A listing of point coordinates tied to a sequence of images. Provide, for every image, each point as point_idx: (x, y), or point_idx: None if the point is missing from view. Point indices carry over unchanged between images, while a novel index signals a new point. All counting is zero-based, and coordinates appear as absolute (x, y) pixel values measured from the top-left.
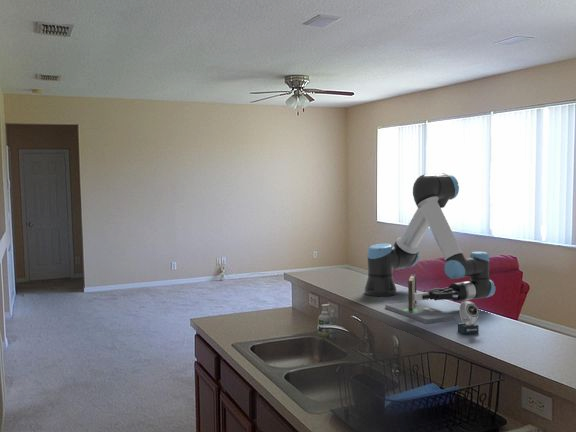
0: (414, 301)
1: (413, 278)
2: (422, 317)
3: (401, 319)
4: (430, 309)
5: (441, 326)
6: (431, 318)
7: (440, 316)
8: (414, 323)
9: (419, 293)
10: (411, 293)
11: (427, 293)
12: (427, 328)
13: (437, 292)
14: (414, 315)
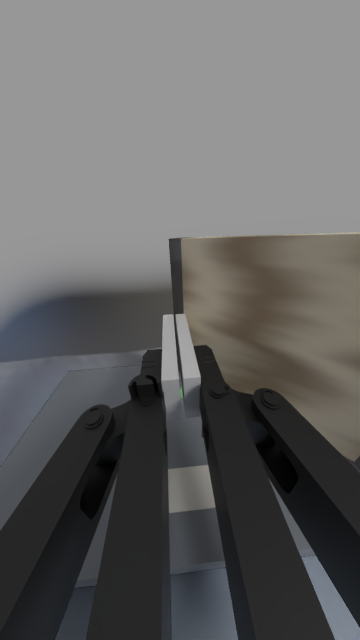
0: (314, 423)
1: (275, 238)
2: (97, 371)
3: (158, 348)
4: (191, 496)
5: (4, 403)
6: (60, 389)
7: (34, 445)
8: (105, 356)
9: (169, 329)
10: (175, 305)
11: (162, 373)
12: (44, 361)
13: (123, 505)
14: (139, 366)
